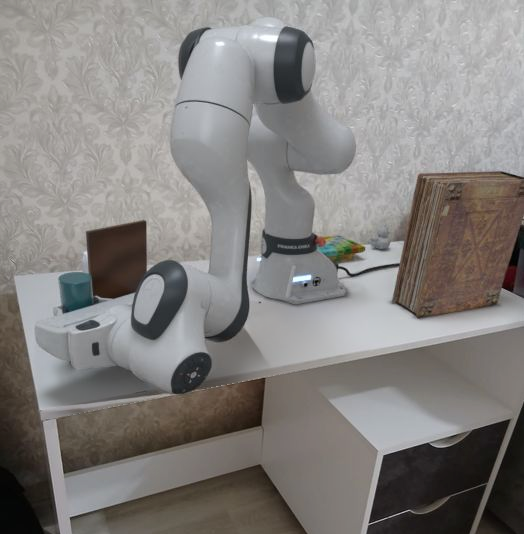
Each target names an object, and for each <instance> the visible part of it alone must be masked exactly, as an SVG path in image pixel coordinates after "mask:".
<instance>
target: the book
mask: <svg viewBox="0 0 524 534" xmlns="http://www.w3.org/2000/svg"><path fill="white" fill-rule="evenodd" d="M523 219H524V176H520V175H517V174H513V173H510V172H505V171H503V170H500V171H499V170H497V171H495V170H494V171H460V172H459V171H458V172H421V173H418V174H417V177H416V183H415V187H414V192H413V196H412V201H411V208H410V212H409V217H408V222H407V225H406V226H407V227H406V231H405V236H404V242H403V245H402V249H401V250H402V251H401V256H400V261H399V263H400V265H399V266H398V271H397V275H396V280H395V286H394V290H393V294H392V299H391V302H392V303H393V304H397V303H398V304H400V305H401V306H403V307H404V308H406V309H408V310H409V311H411V312H413V313H414V314H416V318H418V319H422V318H428V317H433V316H439V315H445V314H449V313H456V312H460V311H467V310H472V309H479V308H483V307H489V306H495V305H497V304H498V302H499V299H500V295H501V293H502V289H503V285H504V282H505V280H506V275H507V272H508V270H509V265H510V262H511V259H512V256H513V252H514V248H515V246H516V242H517V239H518V235H519V232H520V229H521V226H522V221H523Z"/></svg>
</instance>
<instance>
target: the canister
mask: <svg viewBox="0 0 524 534" xmlns="http://www.w3.org/2000/svg"><path fill="white" fill-rule="evenodd" d="M57 280H58V288H59V297H60V306H63V307H65V308H67V313H68V312H72V311H75V310H78V309H82V308H85V307H88V306H92V305H94V296H93V284H92V276H91V275H90V274H88V273H83V271H72V272H66V273H63V274H61V275H59V277H58V279H57Z"/></svg>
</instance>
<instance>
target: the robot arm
mask: <svg viewBox="0 0 524 534" xmlns="http://www.w3.org/2000/svg"><path fill="white" fill-rule="evenodd" d="M177 57H178V58H177V59H178V60H177V63H178V65H177V67H178V74H179V78H180V84H179V87H178V90H177V94H176V99H175V102H174V103H175V104H174V109H173V113H172V117H171V118H172V119H171V123H170V130H169V148H170V154H171V157H172V159H173V161H174V164H175V166H176V168H177V170H179V172H180V173H181V175H182V176H183V177H184V179H186V180H187V182H188V183H189V184H190V186H192V187H193V189H194V190H195V191H196V192H197V194H198V195H199V197H200V198H201V199H202V201H203V202H204V204H205V207H206V209H207V211H208V213H209V217H210V222H211V232H210V234H211V235H210V248H209V260H208V261H209V262H208V272H207V271H205V270H204V271H203V270H201V269H198V268H196V267H193V266H192V265H188V264H185V263H182V262H180V261H177V260H173V259H166V260H165V259H164V260H162V261H159V262H157V263H156V264H154V265H153V266H151V267H150V268H149V269H147V272H146V273H145V275H144V276H143V278H142V279H141V281H140V283H139V285H138V287H137V290H136V292H135V293H132V294H129V295H125V296H122V297H119V298H115V299H108V298H100V297H98V296H94V305H92V306H88V307H85V308H82V309H78V310H75V311H72V312H68V313H67V308H65V307H63V306H61V305H59V306H55V307H53V308H52V311H53V312H52V313H53V316H51V317H48V318H44V319H42V320H38V321H36V323H35V325H34V328H33V329H34V330H33V331H34V337H35V341H36V344H37V346H38V347H39V348H40V349H42V350H43V351H45V352H46V353H48V354H50V355H51V356H53V357H54V358H56V359H59V360H61V361H66V362H70V363H71V367H72V368H73V369H75V370H76V371H84V370H89V369H97V368H106V367H118V366H119V367H121V368H123V369H126V370H130V371H131V372H132V374H133V375H134V376H135V377H136V378H138V379H140V380H141V381H143V382H144V383H146V384H148V385H150V386H152V387H153V388H155V389H157V390H159V391H161V392H164V393H167V394H170V395H185V394H188V393H190V392H192V391H195V390H196V389H197V388H198V387H199V386H200V385H202V384H203V383H204V382H205V380H207V378H208V376H209V375H210V373H211V369H212V366H213V359H212V356H211V354H210V352H209V350H208V346H207V341H210V342H212V343H225V342H228V341H229V340H231V339H233V338H234V337H236V336H237V335H238V334H239V333H240V332H241V330H242V329H243V327H245V324H246V323H247V320H248V318H249V313H250V294H249V288H248V262H249V249H250V238H251V223H252V207H253V206H252V205H253V204H252V203H253V199H252V197H253V196H252V195H253V194H252V188H251V183H250V177H249V170H248V168H249V167H248V163H250V165H251V166H252V168H253V169H254V170H255V172H256V173H257V176H258V178H259V180H260V182H261V185H262V188H263V193H264V202H265V203H264V228H263V229H262V231H261V239H260V254H261V256H260V257H257V258H256V261H257V262H259V267H258V270H257V274H256V276H255V277H256V278H255V280H254V282H253V284H252V287H253V289H254V291H255V292H256V293H258V294H259V295H262V296H263V297H267V298H270V299H275V300H278V301H284V302H287V303H289V304H293V305H301V304H306V303H312V302H317V301H322V300H329V299H334V298H339V297H345V296H346V289H347V288H346V287H345V285H344V283H342V282H341V281H340V280H339V277H338V273H339V270H343V271H344V272H345V273H346V274H347V276H349V277H358V276H360V275H362V274H365V273H367V272H369V271H374V270H379V269H383V268H392V267H399V265H400V262H397V263H388V264H383V265H377V266H372V267H368V268H366V269H363V270H361V271H359V272H355V273H351V272H350V271H349V269H348V268H347V267H344V266H341V265H339V263H338V262H333V261H331V260H329V259H328V258H327V257H326V256H325V255H324V254H323V253H322V252H321V251H320V250H318V249H317V245H318V246H319V247H324V245H326V244H325V243H326V240H325V239H323V238H322V237H323V236H319V235H318V234H316V233H315V232H313V227H314V220H315V219H314V217H315V210H316V209H315V208H316V203H315V199H314V197H313V196H312V194H311V193H310V191H308V190H307V189H306V188H304V187H303V186H302V185H301V184H300V183H299V182H298V180H297V178H296V175H295V172H300V173H305V174H306V173H307V174H312V175H318V176H325V175H326V176H327V175H329V176H330V175H341V174H343V173H344V172H345V171H346V170H348V169H349V168H350V166H351V165H352V164H353V162H354V159H355V156H356V152H357V141H356V136H355V134H354V132H353V130H352V129H351V127H350V126H349V125H346V124H344V123H343V122H341V121H339V120H338V119H336V118H335V117H334V116H332V115H331V114H330V113H329V112H328V111H327V110H326V109H325V108H324V107H323V105H321V103H319V101H318V100H317V98H316V97H315V95H314V93H313V91H312V90H313V89H312V87H313V82H314V79H315V76H316V70H317V59H316V53H315V45H314V42H313V40H312V39H311V37H310V36H309V35H308V34H307V33H306V32H305V31H304V30H301V29H299V28H295V27H291V26H289V25H288V24H287V23H286V22H285V21H284V20H282V19H280V18H278V17H275V16H262V17H259V18H257V19H255V20H253V21H252V22H250V23H249V24H244V25H235V26H234V25H232V26H222V27H215V28H212V27H210V26H206V27H201V28H198V29H194V30H192V31H190V32H188V34H187V35H186V37H185V38H184V40H183V41H182V42H181V44H180V47H179V51H178V56H177ZM254 109H255V113H256V114H253V111H254ZM206 340H207V341H206Z"/></svg>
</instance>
